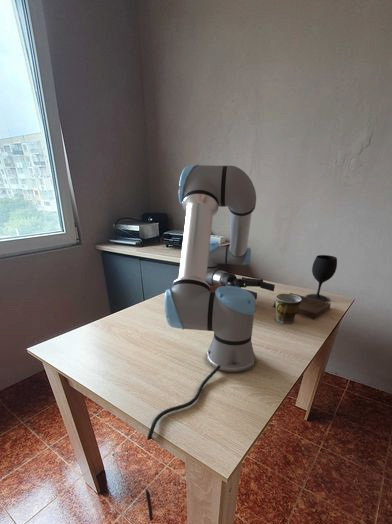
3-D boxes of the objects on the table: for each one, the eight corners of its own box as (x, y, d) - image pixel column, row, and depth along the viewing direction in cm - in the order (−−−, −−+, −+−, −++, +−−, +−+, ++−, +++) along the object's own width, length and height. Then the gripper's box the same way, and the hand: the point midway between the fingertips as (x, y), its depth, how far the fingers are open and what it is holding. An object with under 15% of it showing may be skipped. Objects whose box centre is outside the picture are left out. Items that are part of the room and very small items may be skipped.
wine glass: (330, 297, 144) (340, 256, 134) (325, 304, 136) (336, 261, 126) (308, 293, 149) (317, 253, 138) (303, 299, 141) (312, 257, 131)
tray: (314, 319, 121) (316, 313, 120) (273, 307, 133) (274, 301, 131) (329, 309, 131) (330, 303, 130) (289, 298, 142) (290, 292, 141)
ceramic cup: (280, 313, 126) (284, 291, 121) (301, 320, 120) (306, 298, 115) (263, 322, 118) (266, 299, 113) (285, 330, 112) (289, 306, 107)
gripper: (240, 282, 142) (279, 293, 129) (206, 295, 126) (247, 309, 114) (241, 267, 138) (281, 276, 126) (207, 278, 122) (249, 290, 110)
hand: (265, 292), depth 120 cm, fingers open, 13 cm apart
